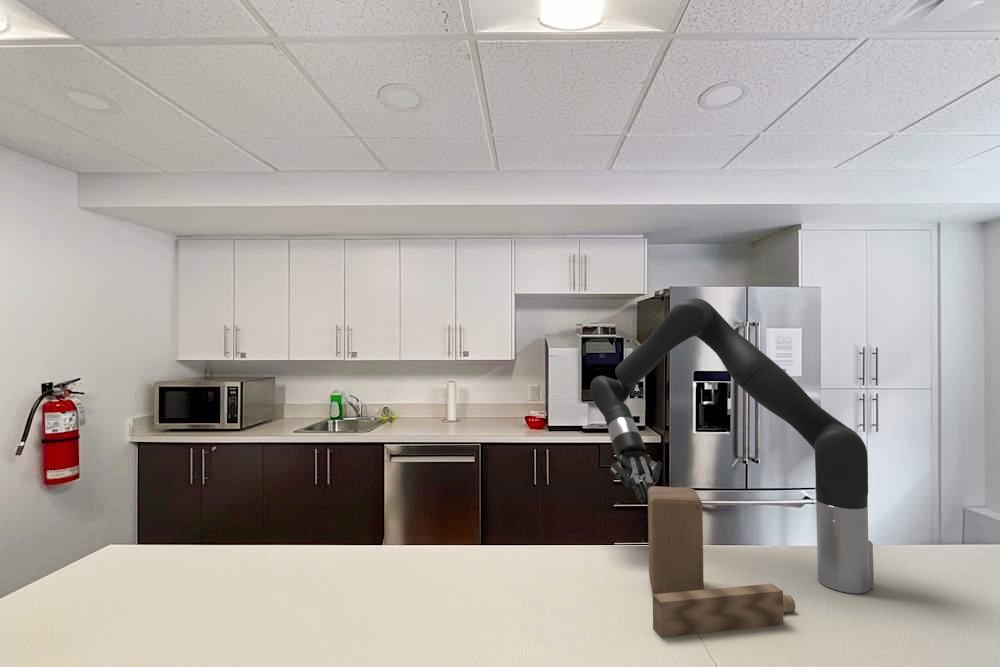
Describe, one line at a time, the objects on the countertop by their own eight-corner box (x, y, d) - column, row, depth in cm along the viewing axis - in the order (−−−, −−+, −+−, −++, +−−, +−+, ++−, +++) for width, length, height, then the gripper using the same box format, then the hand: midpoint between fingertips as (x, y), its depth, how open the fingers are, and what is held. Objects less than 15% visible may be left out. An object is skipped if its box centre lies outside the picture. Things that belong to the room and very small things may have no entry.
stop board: (772, 616, 97) (771, 583, 97) (783, 624, 94) (782, 590, 94) (653, 628, 93) (652, 594, 93) (661, 637, 90) (660, 602, 90)
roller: (784, 607, 101) (784, 591, 101) (795, 614, 98) (795, 598, 98) (738, 611, 99) (737, 595, 99) (748, 619, 96) (747, 603, 96)
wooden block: (704, 601, 103) (703, 499, 103) (652, 596, 105) (651, 497, 105) (696, 579, 112) (694, 487, 113) (648, 575, 114) (647, 484, 115)
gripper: (604, 431, 130) (625, 493, 117) (655, 429, 132) (681, 490, 119) (597, 448, 135) (616, 510, 122) (646, 446, 137) (670, 507, 124)
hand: (648, 500), depth 121 cm, fingers closed
